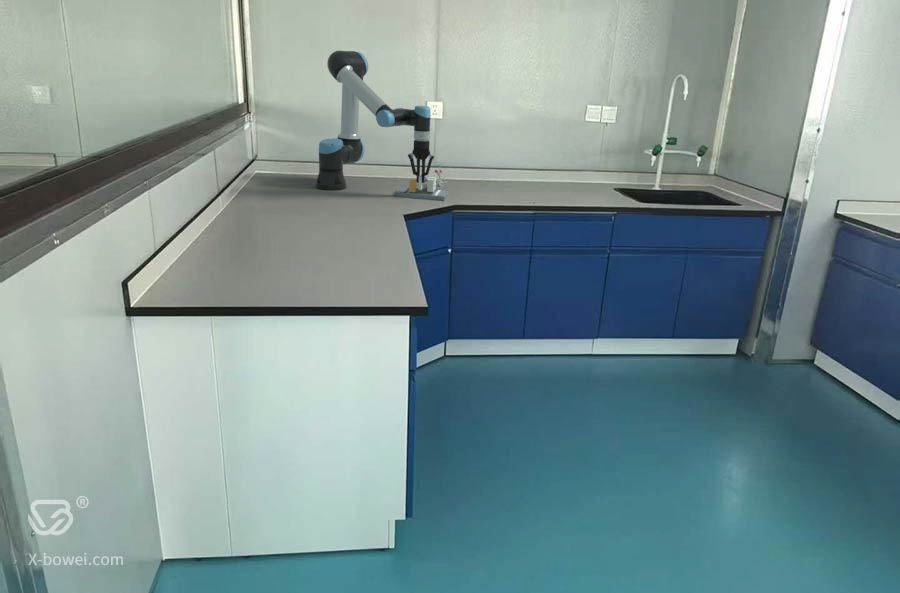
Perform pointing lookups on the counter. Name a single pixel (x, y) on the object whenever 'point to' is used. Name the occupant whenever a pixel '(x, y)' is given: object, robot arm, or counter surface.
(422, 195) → the breaker panel
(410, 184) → the toggle
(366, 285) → the counter surface
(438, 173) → the molecular model
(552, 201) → the counter surface
